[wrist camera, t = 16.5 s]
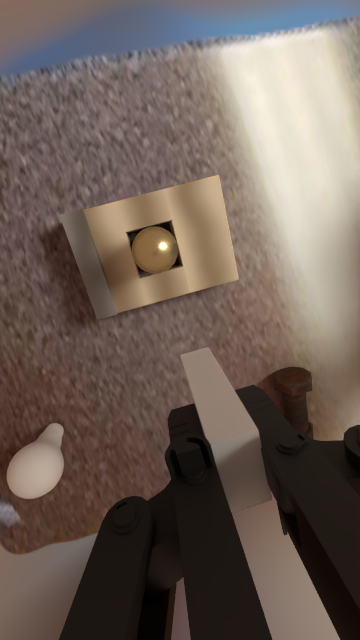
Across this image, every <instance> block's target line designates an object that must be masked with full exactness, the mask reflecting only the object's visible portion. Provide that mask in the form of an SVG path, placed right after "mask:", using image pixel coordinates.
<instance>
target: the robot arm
mask: <svg viewBox="0 0 360 640" xmlns="http://www.w3.org/2000/svg"><path fill="white" fill-rule="evenodd" d="M180 356H181V360H182V363H183V367H184V370H185V374H186V378H187V381H188V385H189V389H190V392H191V396H192V399H193V403H194V404H190V405H187V406H183V407H180V408H177V409H173V410H171V412H170V415H169V417H168V427H169V435H170V443H171V444H170V445H169V447H168V448H167V450H166V453H165V461H166V464H167V467H168V470H169V473H170V476H171V480H170V482H169V484H168V485H167V486H166V487H165V488H164V490H162V491H161V492H160V493H158V494H157V495H156V496H154V497H152V498H151V499H149V500H148V501H146V500H145V499H143V498H142V497H138V496H131V497H127V498H124V499H122V500H120V501H119V502H117V503H116V504H115V505H114V506H113V507H112V508H111V509H110V510H109V511H108V512H107V514H106V516H105V518H104V520H103V521H102V524H101V527H100V530H99V532H98V535H97V538H96V541H95V543H94V546H93V549H92V552H91V554H90V557H89V559H88V562H87V565H86V568H85V570H84V573H83V576H82V579H81V581H80V584H79V587H78V589H77V592H76V595H75V597H74V600H73V603H72V606H71V608H70V611H69V614H68V616H67V619H66V622H65V625H64V627H63V630H62V633H61V636H60V638H59V640H171V634H172V624H173V623H172V622H173V613H174V602H175V593H176V582H178V581H179V580H180V579H181V578H183V577H184V585H185V593H186V601H187V611H188V619H189V627H190V636H191V640H272V637H271V634H270V631H269V628H268V625H267V622H266V619H265V616H264V612H263V609H262V606H261V603H260V600H259V597H258V594H257V591H256V588H255V585H254V582H253V578H252V575H251V572H250V569H249V566H248V563H247V560H246V557H245V553H244V550H243V548H242V544H241V541H240V538H239V535H238V532H237V529H236V526H235V523H234V519H233V516H232V512H235V511H238V510H242V509H245V508H248V507H251V506H254V505H258V504H261V503H264V502H267V501H270V500H272V496H271V491H272V493H273V495H274V497H275V499H276V501H277V505H278V510H279V515H280V520H281V525H282V530H283V533H284V535H287V531H288V534H289V536H290V538H291V539H292V542H293V544H294V545H295V548H296V550H297V552H298V554H299V556H300V558H301V560H302V562H303V564H304V566H305V568H306V570H307V572H308V574H309V576H310V579H311V580H312V582H313V585H314V587H315V589H316V591H317V593H318V595H319V597H320V599H321V601H322V603H323V605H324V607H325V609H326V611H327V613H328V615H329V617H330V619H331V621H332V623H333V625H334V628H335V629H336V631H337V634H338V636H339V638H340V640H360V425H356V426H354V427H351V428H349V429H348V430H347V431H346V432H345V433H344V439H343V440H341V441H317V440H312V439H311V438H310V437H309V436H307V435H306V434H305V433H303V432H301V431H298V430H295V429H294V428H293V427H292V426H291V425H290V423H289V422H288V421H287V420H286V418H285V417H284V416H283V415H282V413H281V412H280V411H279V410H278V408H277V407H276V406H275V405H274V403H273V402H272V401H271V400H270V399H269V397H268V396H267V395H266V393H265V392H264V391H263V390H262V389H260V388H258V387H256V386H254V385H251V386H248V387H245V388H241V389H238V390H234V389H233V387H232V385H231V384H230V382H229V380H228V379H227V377H226V375H225V374H224V372H223V370H222V369H221V367H220V365H219V364H218V362H217V361H216V359H215V357H214V356H213V354H212V352H211V351H210V349H209V347H206V348H203V349H199V350H196V351H192V352H189V353H185V354H182V355H180ZM270 489H271V490H270Z"/></svg>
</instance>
